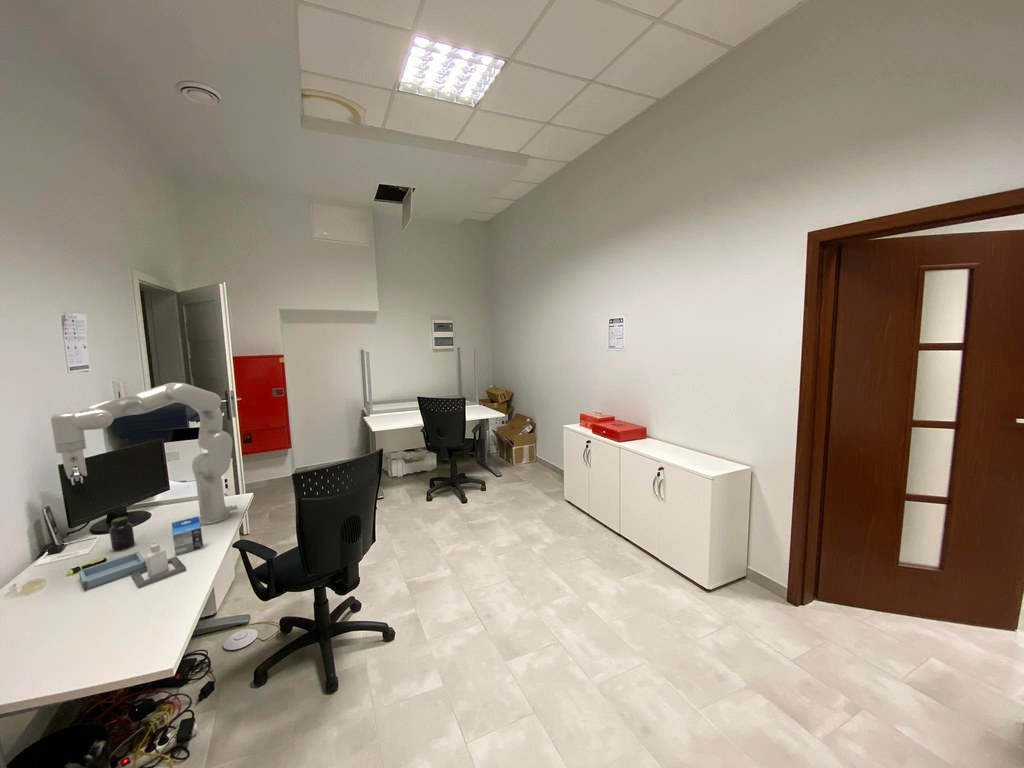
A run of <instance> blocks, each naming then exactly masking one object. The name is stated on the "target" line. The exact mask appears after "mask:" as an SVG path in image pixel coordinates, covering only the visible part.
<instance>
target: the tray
mask: <svg viewBox="0 0 1024 768" xmlns="http://www.w3.org/2000/svg"><path fill="white" fill-rule="evenodd" d="M144 567H147V564H146V558H145V557H143V555H142V554H141V552H140V551H136V552H132V553H129V554H126V555H124V556H123V555H122V556H121V557H117V558H114V559H111V560H107V561H105V562H102V563H99V564H96V565H93V566H89V567H86V568H83V569H80V570H78V575H79V580H80V583H81V585H82V588H83V591H84V592H87V591H88V590H91V589H93V588H97V587H101V586H103V585H105V584H108V583H112V582H115V581H117V580H119V579H122V578H125V577H129V576H131V574H130V572H132V571H135V570H138V569H141V568H144Z"/></svg>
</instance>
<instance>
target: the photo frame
mask: <svg viewBox="0 0 1024 768" xmlns="http://www.w3.org/2000/svg"><path fill="white" fill-rule="evenodd" d="M100 538H101V535H97V536H92V537H89V538H83V539H79V540H74V541H70V542H65V543H63V544H64V545H68V544H74V543H78V542H83V541H87V540H91V539H95V541H94V542H93V544H92V545H91V546H90V547H88V548H84V549H79V550H76V551H72V552H67V553H62V554H59V555H54V556H50V557H49V556H48V557H47V555H48V554H49V553H48V552H47V551H46V552H45V553H44V554H43V555H42V557H40V558H39V560H38V561H37V562H36V563H35V564H34V566H33V567H34V568H36V567H40V566H44V565H48V564H52V563H57V562H62V561H66V560H70V559H75V558H78V557H83V556H87V555H90V554H91V552H92V550H93V549H94V548H95V546H96V544H97V543H98V541H99V539H100ZM64 545H63V546H64ZM45 557H46V558H45Z"/></svg>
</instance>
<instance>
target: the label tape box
mask: <svg viewBox="0 0 1024 768" xmlns="http://www.w3.org/2000/svg"><path fill="white" fill-rule="evenodd" d="M199 518H200V516H194V517H193V516H192V517H190V518H185V519H182V520H177V521H173V522H171V527H172V528H171V532H172V533H171V534H172V541H173V547H174V554H175V556H178V555H181V554H185V553H188V552H193V551H195V550H198V549H203V548H204V541H203V535H202V528H201V527H202V525H200V521H199Z"/></svg>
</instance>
